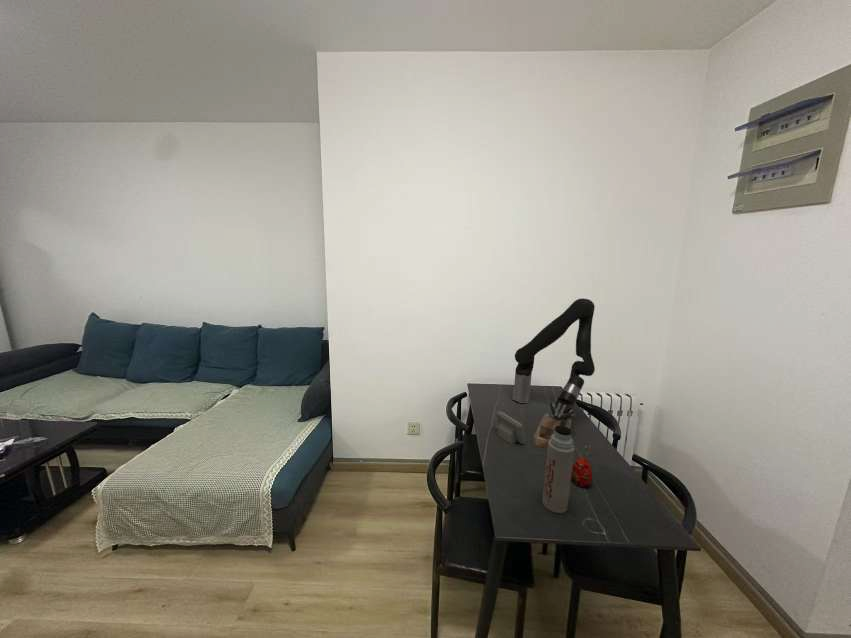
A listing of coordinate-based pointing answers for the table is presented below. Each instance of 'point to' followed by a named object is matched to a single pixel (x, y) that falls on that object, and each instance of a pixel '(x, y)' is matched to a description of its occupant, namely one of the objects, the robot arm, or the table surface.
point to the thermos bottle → (558, 470)
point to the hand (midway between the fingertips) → (554, 424)
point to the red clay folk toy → (582, 471)
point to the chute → (542, 441)
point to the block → (548, 428)
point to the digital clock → (509, 429)
